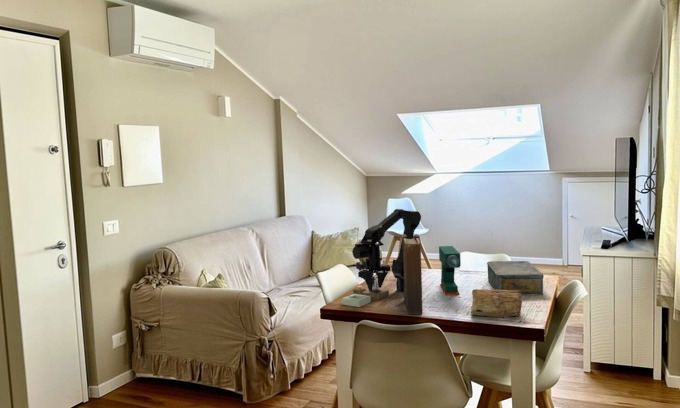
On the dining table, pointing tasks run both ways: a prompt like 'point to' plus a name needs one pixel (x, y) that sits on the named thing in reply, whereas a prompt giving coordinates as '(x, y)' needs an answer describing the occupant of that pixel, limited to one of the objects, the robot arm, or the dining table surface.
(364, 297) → the block
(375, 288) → the steel pin
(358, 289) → the button
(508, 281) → the metal box
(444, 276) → the power tool
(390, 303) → the dining table surface
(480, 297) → the petrified wood
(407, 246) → the decorative book
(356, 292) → the button housing
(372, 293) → the block
